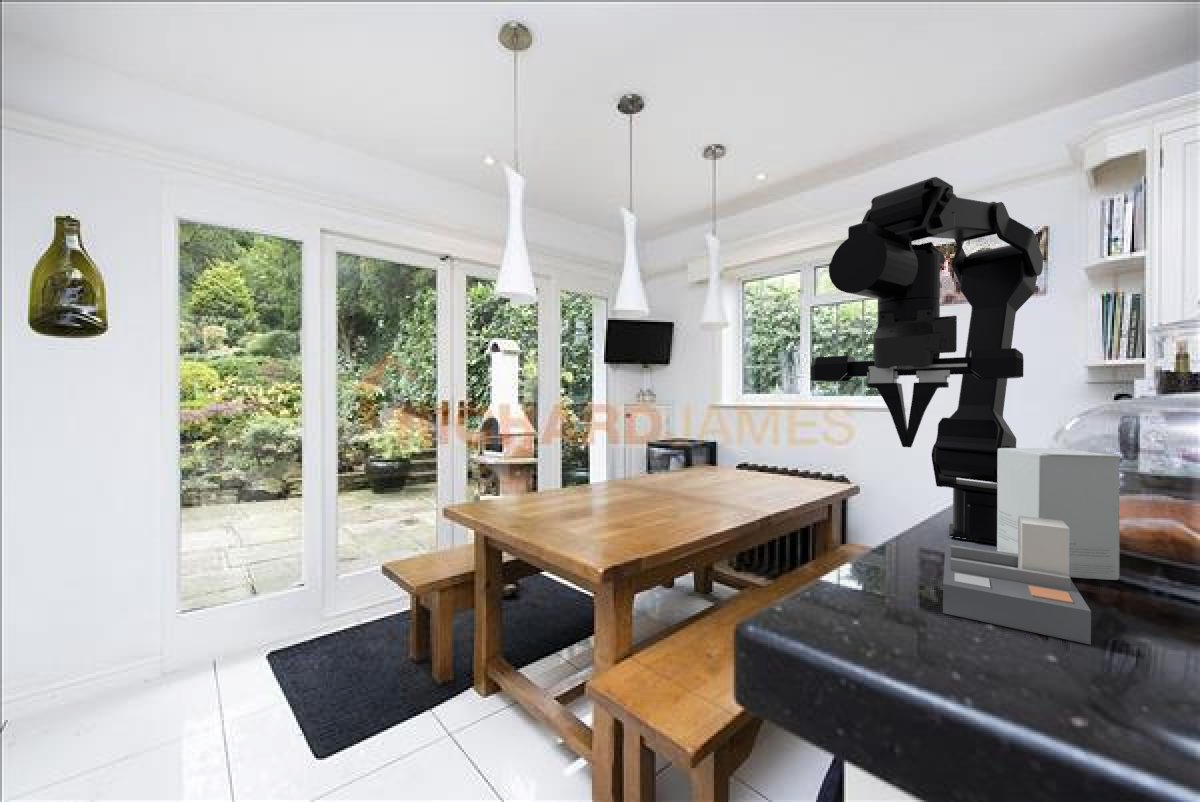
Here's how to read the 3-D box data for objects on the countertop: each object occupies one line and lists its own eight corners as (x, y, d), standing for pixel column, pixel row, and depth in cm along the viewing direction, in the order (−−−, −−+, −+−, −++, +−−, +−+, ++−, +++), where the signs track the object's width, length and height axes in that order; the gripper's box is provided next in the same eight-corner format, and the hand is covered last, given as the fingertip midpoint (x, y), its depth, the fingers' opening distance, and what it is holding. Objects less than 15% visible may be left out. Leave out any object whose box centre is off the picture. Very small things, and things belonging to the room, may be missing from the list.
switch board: (945, 566, 53) (945, 534, 53) (1058, 585, 48) (1058, 549, 48) (942, 613, 42) (943, 572, 42) (1090, 644, 36) (1091, 597, 36)
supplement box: (1122, 581, 49) (1124, 455, 48) (1036, 576, 50) (1038, 453, 50) (1068, 557, 56) (1069, 447, 56) (994, 553, 57) (995, 446, 57)
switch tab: (1018, 567, 45) (1018, 515, 45) (1062, 574, 43) (1062, 520, 43) (1021, 577, 43) (1022, 523, 43) (1069, 585, 41) (1069, 528, 41)
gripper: (798, 301, 52) (798, 448, 52) (1032, 276, 41) (1030, 462, 41) (821, 315, 61) (821, 440, 61) (1017, 297, 50) (1016, 449, 50)
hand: (907, 447), depth 53 cm, fingers closed
